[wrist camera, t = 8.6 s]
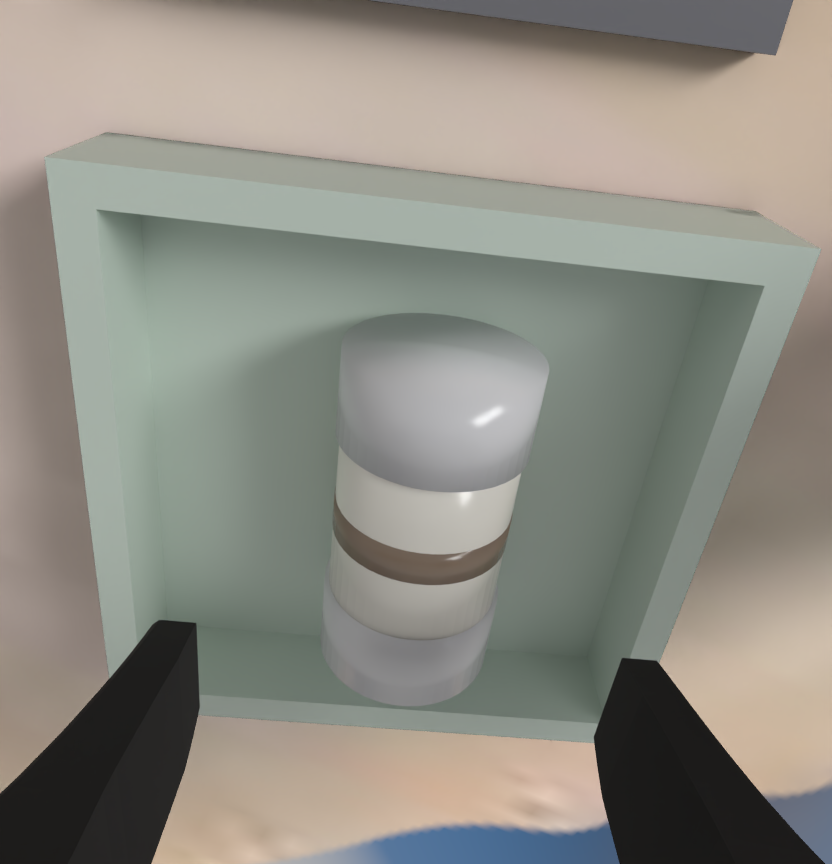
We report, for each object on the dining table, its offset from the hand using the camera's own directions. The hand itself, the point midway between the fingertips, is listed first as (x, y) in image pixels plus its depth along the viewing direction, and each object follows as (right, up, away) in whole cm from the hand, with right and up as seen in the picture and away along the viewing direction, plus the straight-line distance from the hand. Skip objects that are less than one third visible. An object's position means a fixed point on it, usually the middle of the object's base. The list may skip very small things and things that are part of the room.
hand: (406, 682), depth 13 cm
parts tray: (0, +4, +7) cm, 8 cm away
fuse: (0, +4, +6) cm, 7 cm away
